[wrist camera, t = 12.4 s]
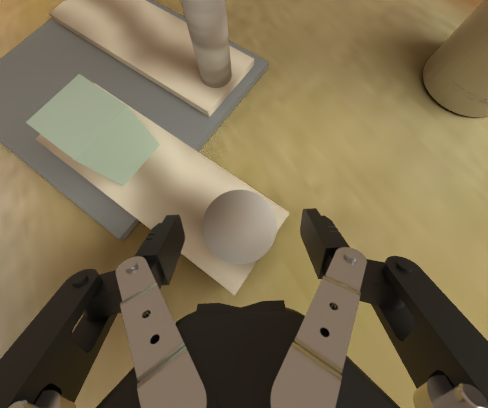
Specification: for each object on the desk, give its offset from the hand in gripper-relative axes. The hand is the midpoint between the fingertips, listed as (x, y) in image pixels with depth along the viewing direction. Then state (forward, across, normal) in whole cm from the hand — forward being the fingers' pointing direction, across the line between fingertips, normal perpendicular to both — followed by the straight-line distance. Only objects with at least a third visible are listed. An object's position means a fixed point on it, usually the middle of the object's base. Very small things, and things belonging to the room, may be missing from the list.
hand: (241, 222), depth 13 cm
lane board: (+16, +14, -8) cm, 23 cm away
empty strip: (+19, +10, -13) cm, 25 cm away
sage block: (+8, +11, -3) cm, 14 cm away
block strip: (+7, +8, -1) cm, 11 cm away
